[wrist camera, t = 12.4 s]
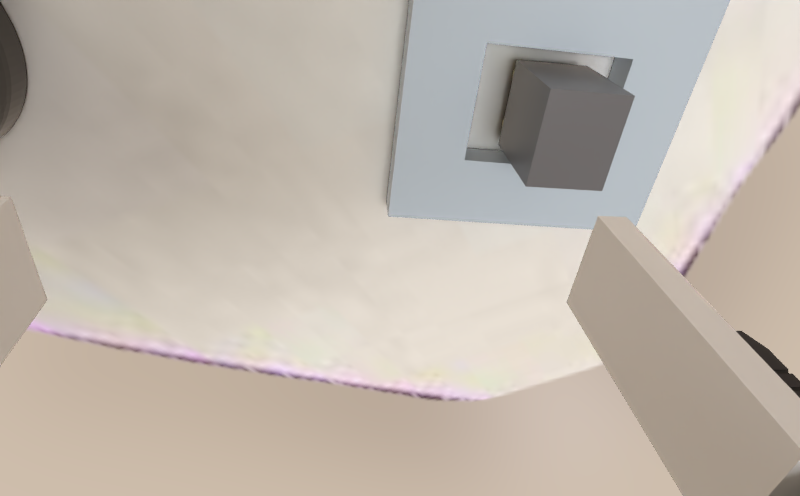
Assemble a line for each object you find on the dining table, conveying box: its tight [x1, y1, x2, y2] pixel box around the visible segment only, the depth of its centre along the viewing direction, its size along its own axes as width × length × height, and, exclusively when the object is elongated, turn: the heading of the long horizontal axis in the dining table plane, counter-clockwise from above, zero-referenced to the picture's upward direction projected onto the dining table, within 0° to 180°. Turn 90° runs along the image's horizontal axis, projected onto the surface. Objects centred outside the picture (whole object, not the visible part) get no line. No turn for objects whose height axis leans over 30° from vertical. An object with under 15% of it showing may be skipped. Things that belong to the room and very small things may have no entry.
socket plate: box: [386, 0, 730, 229], centre depth 36 cm, size 20×18×2 cm
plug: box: [499, 60, 635, 191], centre depth 34 cm, size 5×6×8 cm
